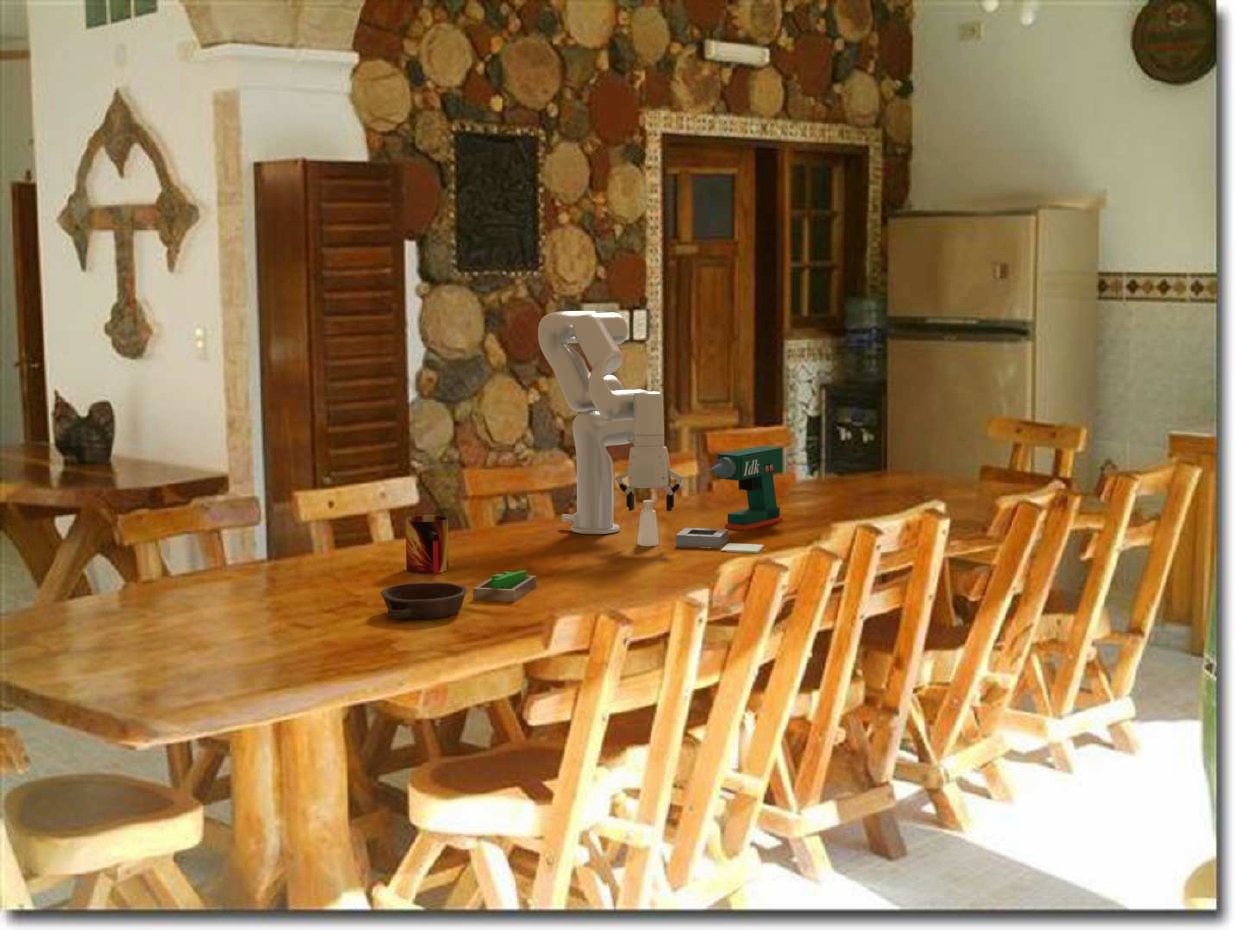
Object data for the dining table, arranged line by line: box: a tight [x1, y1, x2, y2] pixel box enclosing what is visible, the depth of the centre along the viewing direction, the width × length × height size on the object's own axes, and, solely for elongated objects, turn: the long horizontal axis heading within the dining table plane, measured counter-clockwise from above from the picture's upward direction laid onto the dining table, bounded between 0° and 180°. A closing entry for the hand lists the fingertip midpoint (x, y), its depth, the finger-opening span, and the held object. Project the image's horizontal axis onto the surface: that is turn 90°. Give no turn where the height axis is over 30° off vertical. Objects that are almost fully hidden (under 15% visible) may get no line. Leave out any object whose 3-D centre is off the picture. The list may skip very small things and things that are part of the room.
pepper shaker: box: [637, 499, 660, 547], centre depth 417 cm, size 5×5×11 cm
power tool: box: [706, 445, 783, 531], centre depth 441 cm, size 32×7×20 cm, turn 143°
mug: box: [405, 514, 449, 575], centre depth 383 cm, size 10×14×12 cm
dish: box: [379, 581, 469, 620], centre depth 340 cm, size 18×22×5 cm
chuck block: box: [675, 527, 729, 549], centre depth 418 cm, size 11×11×3 cm
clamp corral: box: [472, 573, 537, 603], centre depth 359 cm, size 9×16×2 cm, turn 166°
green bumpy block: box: [490, 569, 528, 589], centre depth 358 cm, size 11×4×5 cm, turn 150°
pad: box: [720, 542, 765, 554], centre depth 411 cm, size 9×9×1 cm
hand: (650, 510), depth 416 cm, fingers open, 9 cm apart
